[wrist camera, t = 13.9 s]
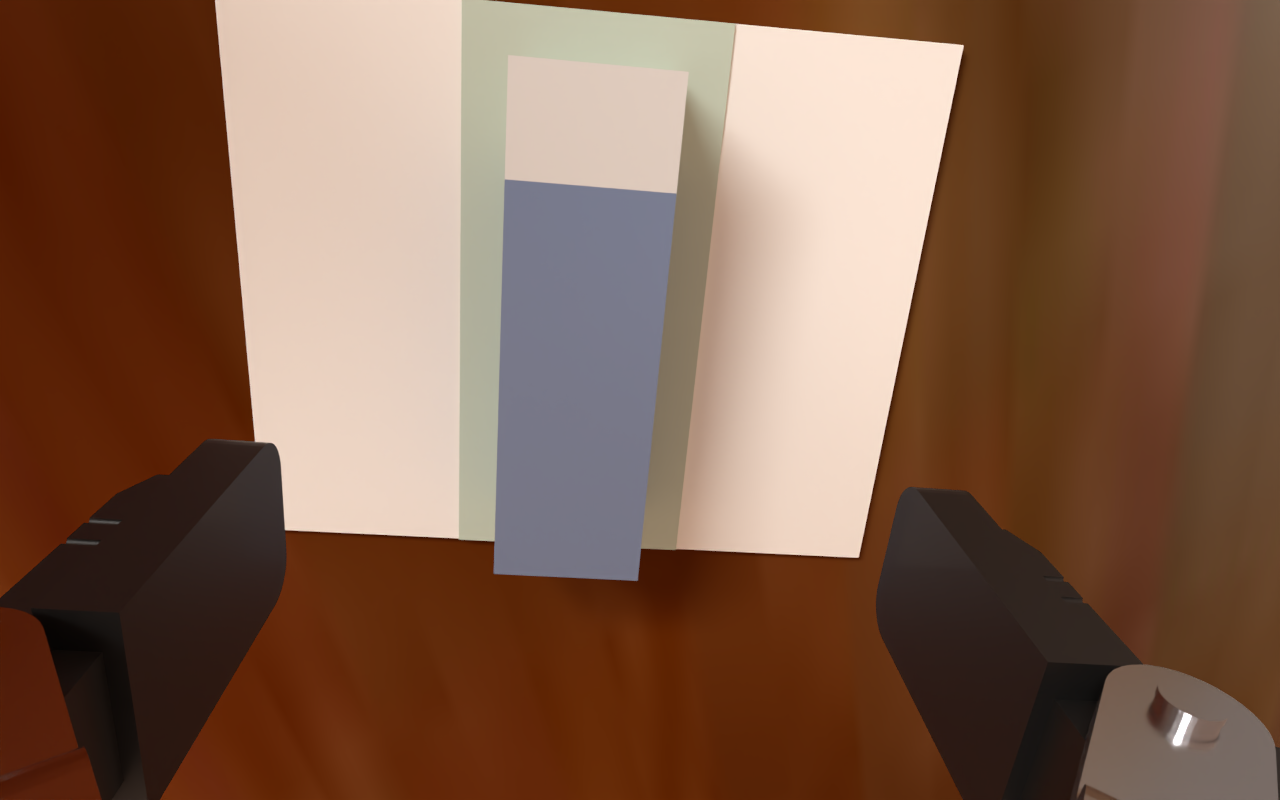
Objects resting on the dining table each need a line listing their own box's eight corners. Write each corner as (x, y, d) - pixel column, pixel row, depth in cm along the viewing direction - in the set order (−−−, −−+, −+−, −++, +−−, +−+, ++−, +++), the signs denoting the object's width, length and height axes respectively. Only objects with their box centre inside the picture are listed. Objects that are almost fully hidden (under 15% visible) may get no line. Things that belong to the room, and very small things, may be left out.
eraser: (508, 503, 30) (493, 573, 26) (523, 57, 25) (508, 55, 21) (632, 511, 31) (637, 580, 27) (673, 70, 25) (688, 71, 21)
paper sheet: (266, 524, 31) (262, 530, 30) (217, -25, 24) (211, -26, 24) (856, 553, 32) (859, 558, 32) (959, 45, 26) (964, 45, 25)
